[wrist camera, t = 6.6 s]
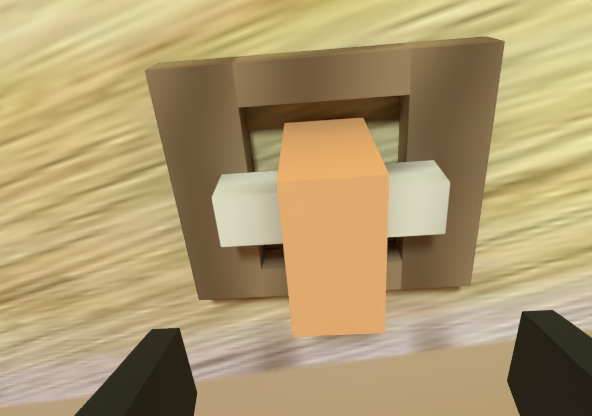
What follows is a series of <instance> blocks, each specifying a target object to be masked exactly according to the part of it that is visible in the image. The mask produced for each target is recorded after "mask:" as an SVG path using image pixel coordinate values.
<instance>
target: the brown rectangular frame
mask: <svg viewBox="0 0 592 416" xmlns="http://www.w3.org/2000/svg"><path fill="white" fill-rule="evenodd" d="M504 43H505V41H502V40H498V39H494V38H491V37H475V38H462V39H450V40H438V41H426V42H413V43H401V44H389V45H376V46H364V47H352V48H339V49H327V50H315V51H302V52H290V53H278V54H265V55H253V56H241V57H229V58H216V59H204V60H192V61H179V62H167V63H158V64H156V65H154V66H152V67H150V68H148V69H146V70H145V73H146V78H147V82H148V86H149V90H150V95H151V99H152V103H153V107H154V112H155V116H156V120H157V124H158V128H159V133H160V137H161V141H162V145H163V150H164V154H165V158H166V162H167V167H168V171H169V175H170V179H171V184H172V188H173V192H174V196H175V201H176V205H177V209H178V213H179V217H180V222H181V226H182V230H183V234H184V239H185V243H186V247H187V251H188V256H189V260H190V264H191V268H192V273H193V277H194V281H195V285H196V290H197V294H198V298H199V300H211V299H230V298H249V297H268V296H287V295H288V285H287V276H286V267H285V257H284V249H272V250H264V245H265V244H282V243H283V239H282V229H281V220H280V210H279V201H278V192H277V174H278V171H266V172H254V171H253V164H252V156H251V149H250V142H249V134H248V127H247V119H246V112H245V107H252V106H265V105H278V104H292V103H305V102H318V101H332V100H345V99H358V98H371V97H385V96H398V95H401V96H400V124H399V152H398V163H384V164H385V166H386V169H387V171H388V173H389V202H388V237H395V242H392V243H387V273H386V290H401V289H420V288H439V287H458V286H470V285H471V278H472V270H473V263H474V256H475V249H476V242H477V235H478V228H479V221H480V214H481V206H482V199H483V192H484V185H485V178H486V171H487V164H488V157H489V149H490V142H491V135H492V128H493V121H494V114H495V107H496V100H497V93H498V85H499V78H500V71H501V64H502V57H503V50H504Z"/></svg>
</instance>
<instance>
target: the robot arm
mask: <svg viewBox="0 0 592 416" xmlns="http://www.w3.org/2000/svg"><path fill="white" fill-rule="evenodd" d="M507 382H508V385H509V387H510V390H511V393H512V396H513V398H514V401H515V404H516V406H517V409H518V412H519V414H520V416H592V338H591V337H590V336H588V335H587V334H586V333H584V332H583V331H582V330H580V329H579V328H577V327H576V326H575V325H573V324H572V323H571V322H569V321H568V320H566V319H565V318H564V317H562V316H561V315H559V314H558V313H556V312H555V311H553V310H543V311H522V315H521V319H520V324H519V328H518V333H517V338H516V342H515V347H514V351H513V356H512V360H511V365H510V370H509V374H508V379H507ZM196 398H197V390H196V387H195V383H194V380H193V376H192V372H191V369H190V365H189V361H188V358H187V354H186V350H185V347H184V343H183V339H182V336H181V332H180V328H168V329H152V330H151V331H150V332H149V333H148V334H147V335H146V336H145V337H144V338H143V339H142V341H141V342H140V343H139V344H138V345H137V346H136V347H135V348H134V350H133V351H132V352H131V353H130V354H129V355H128V356H127V358H126V359H125V360H124V361H123V362H122V363H121V364H120V365H119V367H118V368H117V369H116V370H115V371H114V372H113V373H112V375H111V376H110V377H109V378H108V379H107V380H106V381H105V382H104V384H103V385H102V386H101V387H100V388H99V389H98V390H97V391H96V392H95V393H94V395H93V396H92V397H91V398H90V399H89V400H88V401H87V402H86V404H84V406H83V407H82V408H81V409H80V410H79V411H78V412H77V413H76V414H75V415H74V416H194V410H195V404H196Z"/></svg>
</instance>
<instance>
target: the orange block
mask: <svg viewBox="0 0 592 416" xmlns="http://www.w3.org/2000/svg"><path fill="white" fill-rule="evenodd" d="M277 192H278V201H279V210H280V220H281V229H282V239H283V248H284V257H285V267H286V276H287V285H288V295H289V304H290V313H291V323H292V332H293V337H304V336H326V335H348V334H370V333H385V308H386V273H387V237H388V202H389V173H388V171H387V169H386V166H385V164H384V162H383V160H382V158H381V156H380V153H379V151H378V149H377V147H376V145H375V142H374V140H373V138H372V136H371V134H370V131H369V129H368V127H367V125H366V123H365V120H364V118H349V119H335V120H321V121H306V122H292V123H284V130H283V137H282V145H281V152H280V160H279V167H278V174H277Z"/></svg>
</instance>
